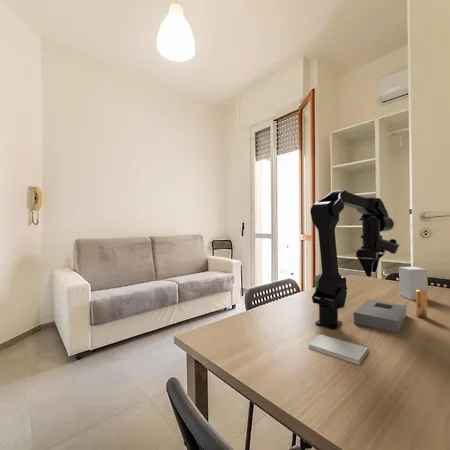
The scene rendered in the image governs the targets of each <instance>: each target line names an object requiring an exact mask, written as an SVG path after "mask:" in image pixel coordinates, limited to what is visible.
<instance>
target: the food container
mask: <svg viewBox="0 0 450 450" xmlns="http://www.w3.org/2000/svg"><path fill="white" fill-rule="evenodd" d="M321 274H322V273H319V274H318V275H314V285H315V290H316V289H317V288H318V280H319V278H320V276H321ZM324 299H326V298H324Z"/></svg>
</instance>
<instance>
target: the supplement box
mask: <svg viewBox="0 0 450 450" xmlns="http://www.w3.org/2000/svg"><path fill="white" fill-rule="evenodd" d="M398 277H399V278H398V279H399V280H398V282H399V286H398V287H399V291H398V292H399V296H401V297H403V298H406V299H408V300H411V301H412V300H415V301H416V290H417V289H420V290H426V291H427V300H428V299H429V298H428V297H429V294H428V292H429V289H428V284H429V283H428V269H427V268H421V267H418V266H399V267H398Z"/></svg>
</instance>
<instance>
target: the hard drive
mask: <svg viewBox="0 0 450 450" xmlns="http://www.w3.org/2000/svg"><path fill="white" fill-rule="evenodd" d="M308 348H309V349H311V350H314V351H317V352H320V353H323V354H326V355H329V356H333V357H336V358H338V359H340V360H344V361H347V362H350V363H353V364H357V365H360V364H361V363H362V361H363V360H364V359H365V357H366V356H367V354H369V351H370V350H369V347H366V346H361V345H360V344H356V343H353V342H352V343H351V342H349V341H346V340H345V341H344V340H341V339H339V338H335V337H331V336H328V335H323V334H319V335H318V336H316V338H315V339H313V340H312V341H311V342H310V343H309V344H308Z"/></svg>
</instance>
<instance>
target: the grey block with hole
mask: <svg viewBox="0 0 450 450" xmlns="http://www.w3.org/2000/svg"><path fill="white" fill-rule="evenodd" d="M407 308H408V307H407V305H405V304H397V303H393V302H389V301H387V302H386V301H383V300H382V301H381V300H376V299H375V300H374V299H367V300H365V301H364V302H363V303H362V304H361V305H360V306H359V307H358V308H357V309H356V310H355V311H353V324H358V325H362V326H365V327H370V328H374V329H379V330H384V331H386V332H392V333H396V334H398V333H399V331H400V329H401V327H402V326H403V323H404V322H405V320H406V318H407V315H408V314H407V313H408V312H407Z"/></svg>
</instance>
